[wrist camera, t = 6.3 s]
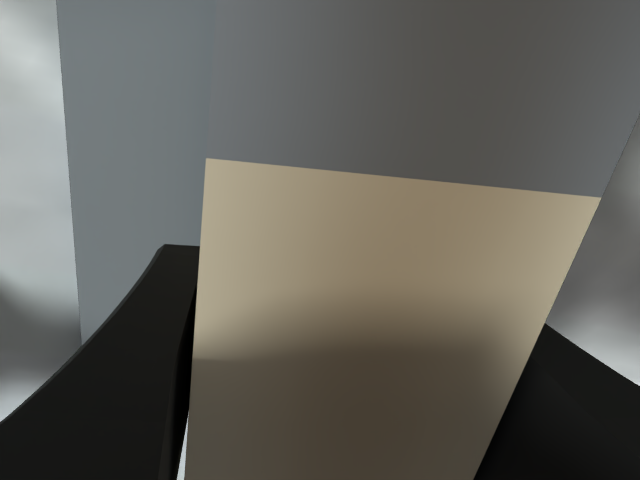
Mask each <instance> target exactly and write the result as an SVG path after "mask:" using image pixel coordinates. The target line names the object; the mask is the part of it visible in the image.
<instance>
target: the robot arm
mask: <svg viewBox="0 0 640 480" xmlns="http://www.w3.org/2000/svg"><path fill="white" fill-rule="evenodd" d="M199 255H200V246H190V245H174V244H164V245H163V246H161V247H160V248H159V249H157V251H156V253H155V255H154V257H153V258H152V260H151V262H150V263H149V265H148V266H147V268H146V269H145V271H144V272H143V273H142V275H141V276H140V278H139V279H138V280H137V282H136V283H135V284H134V286H133V287H132V288H131V290H130V291H129V292H128V294H127V295H126V296H125V297H124V298H123V300H122V301H121V302H120V303H119V305H118V306H117V307H116V308H115V309H114V311H113V312H112V313H111V314H110V316H109V317H108V318H107V319H106V320H105V321H104V323H103V324H102V325H101V326H100V327H99V328H98V329H97V330H96V331H95V332H94V333H93V334H92V336H91V337H90V338H89V339H88V340H87V341H86V342H85V343H84V344H83V345H82V346H81V347H80V348H79V349H78V350H77V352H76V353H75V354H74V355H73V356H72V357H71V358H70V359H69V360H68V361H67V362H66V363H65V364H64V365H63V366H62V367H61V368H60V369H59V370H58V371H57V372H56V373H55V374H54V375H53V376H52V377H51V378H50V379H48V380H47V381H46V382H45V383H44V384H43V385H42V386H41V387H40V388H39V389H38V390H37V391H35V392H34V393H33V394H32V395H31V396H30V397H29V398H28V399H27V400H25V401H24V402H23V403H22V404H21V405H20V406H19V407H18V408H16V409H15V410H14V411H13V412H12V413H11V414H10V415H8V416H7V417H6V418H5V419H4V420H2V421H1V422H0V480H177V475H178V469H179V463H180V458H181V452H182V446H183V441H184V435H185V429H186V424H187V418H188V412H189V403H190V388H191V373H192V359H193V344H194V329H195V314H196V299H197V284H198V270H199ZM473 480H640V386H638V385H637V384H635V383H633V382H632V381H630V380H629V379H627V378H625V377H624V376H622V375H621V374H619V373H617V372H616V371H614V370H613V369H611V368H610V367H608V366H607V365H605V364H604V363H602V362H601V361H599V360H598V359H596V358H595V357H593V356H592V355H590V354H588V353H587V352H585V351H584V350H582V349H581V348H579V347H578V346H577V345H575V344H574V343H572V342H571V341H569V340H568V339H566V338H565V337H564V336H562V335H561V334H559V333H558V332H556V331H555V330H554V329H552V328H551V327H549V326H548V325H547V324H545V323H544V325H543V327H542V330H541V332H540V334H539V336H538V338H537V341H536V343H535V345H534V347H533V349H532V352H531V354H530V356H529V358H528V360H527V363H526V365H525V367H524V369H523V371H522V373H521V376H520V378H519V380H518V382H517V384H516V387H515V389H514V391H513V393H512V395H511V398H510V400H509V402H508V404H507V406H506V409H505V411H504V413H503V415H502V417H501V420H500V422H499V424H498V426H497V428H496V431H495V433H494V435H493V437H492V439H491V441H490V444H489V446H488V448H487V450H486V452H485V455H484V457H483V459H482V461H481V463H480V466H479V468H478V470H477V472H476V474H475V477H474V479H473Z"/></svg>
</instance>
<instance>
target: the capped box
mask: <svg viewBox="0 0 640 480" xmlns="http://www.w3.org/2000/svg"><path fill="white" fill-rule="evenodd" d="M639 115H640V0H217V3H216V18H215V32H214V47H213V62H212V77H211V92H210V107H209V121H208V136H207V151H206V166H205V181H204V196H203V210H202V225H201V240H200V255H199V270H198V284H197V299H196V314H195V329H194V344H193V359H192V373H191V388H190V403H189V418H188V433H187V448H186V462H185V477H184V480H473V479H474V477H475V474H476V472H477V470H478V468H479V466H480V463H481V461H482V459H483V457H484V455H485V452H486V450H487V448H488V446H489V444H490V441H491V439H492V437H493V435H494V433H495V431H496V428H497V426H498V424H499V422H500V420H501V417H502V415H503V413H504V411H505V409H506V406H507V404H508V402H509V400H510V398H511V395H512V393H513V391H514V389H515V387H516V384H517V382H518V380H519V378H520V376H521V373H522V371H523V369H524V367H525V365H526V363H527V360H528V358H529V356H530V354H531V352H532V349H533V347H534V345H535V343H536V341H537V338H538V336H539V334H540V332H541V330H542V327H543V325H544V323H545V321H546V319H547V316H548V314H549V312H550V310H551V308H552V305H553V303H554V301H555V299H556V297H557V295H558V292H559V290H560V288H561V286H562V284H563V281H564V279H565V277H566V275H567V273H568V270H569V268H570V266H571V264H572V262H573V259H574V257H575V255H576V253H577V251H578V248H579V246H580V244H581V242H582V240H583V237H584V235H585V233H586V231H587V229H588V227H589V224H590V222H591V220H592V218H593V216H594V213H595V211H596V209H597V207H598V205H599V202H600V200H601V198H602V196H603V194H604V191H605V189H606V187H607V185H608V183H609V180H610V178H611V176H612V174H613V172H614V169H615V167H616V165H617V163H618V161H619V158H620V156H621V154H622V152H623V150H624V148H625V145H626V143H627V141H628V139H629V137H630V134H631V132H632V130H633V128H634V126H635V123H636V121H637V119H638V117H639Z"/></svg>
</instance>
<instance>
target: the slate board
mask: <svg viewBox="0 0 640 480" xmlns="http://www.w3.org/2000/svg"><path fill="white" fill-rule="evenodd" d="M216 3H217V0H56V5H57V19H58V32H59V46H60V59H61V73H62V86H63V99H64V113H65V126H66V140H67V153H68V167H69V180H70V193H71V207H72V220H73V234H74V247H75V261H76V274H77V287H78V301H79V314H80V328H81V341H82V345H83V344H84V343H85V342H86V341H87V340H88V339H89V338H90V337H91V336H92V334H93V333H94V332H95V331H96V330H97V329H98V328H99V327H100V326H101V325H102V324H103V323H104V321H105V320H106V319H107V318H108V317H109V316H110V314H111V313H112V312H113V311H114V309H115V308H116V307H117V306H118V305H119V303H120V302H121V301H122V300H123V298H124V297H125V296H126V295H127V294H128V292H129V291H130V290H131V288H132V287H133V286H134V284H135V283H136V282H137V280H138V279H139V278H140V276H141V275H142V273H143V272H144V271H145V269H146V268H147V266H148V265H149V263H150V262H151V260H152V258H153V257H154V255H155V253H156V251H157V249H159V248H160V247H161V246H163V245H164V244H174V245H190V246H200V240H201V225H202V210H203V196H204V181H205V166H206V151H207V136H208V121H209V107H210V92H211V77H212V62H213V47H214V32H215V18H216Z"/></svg>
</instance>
